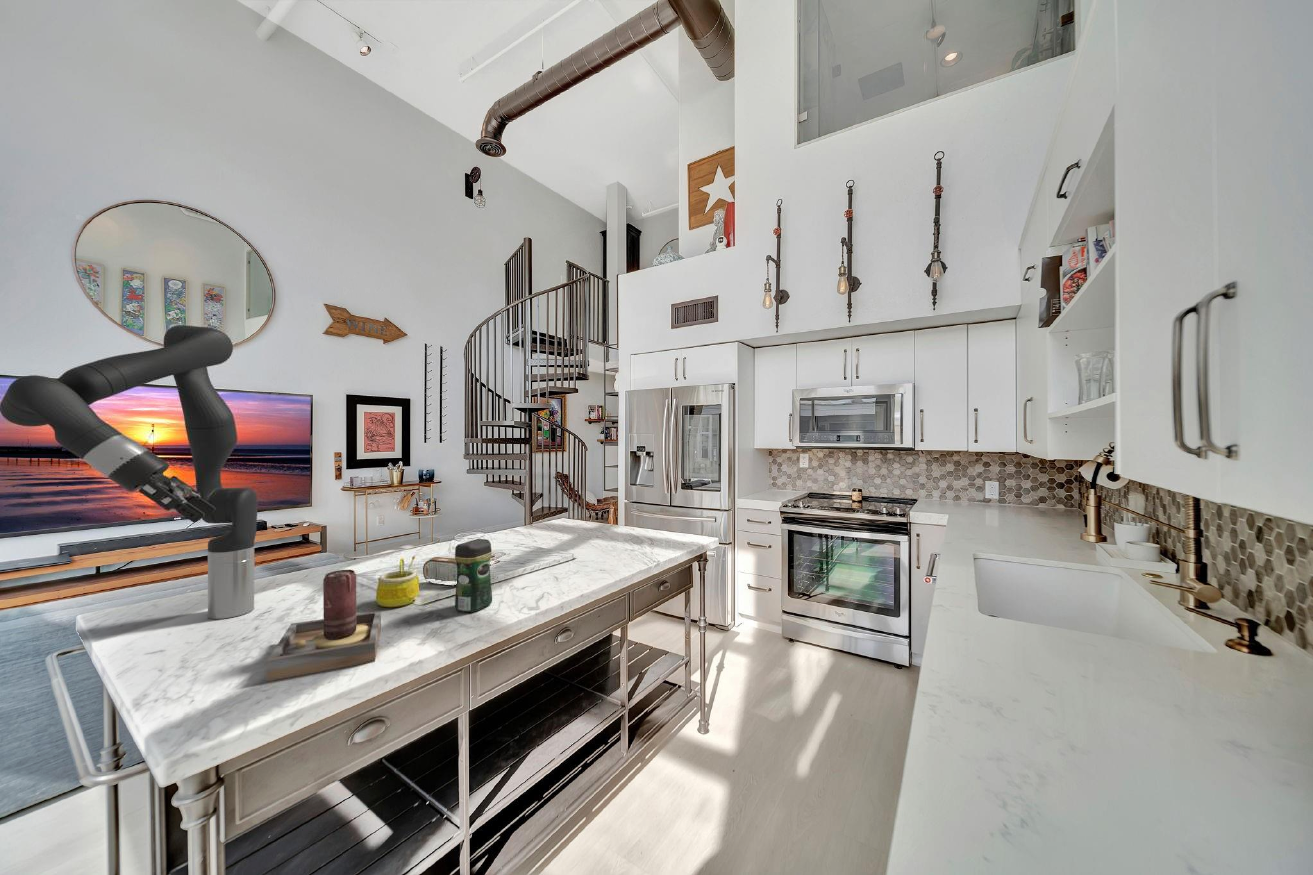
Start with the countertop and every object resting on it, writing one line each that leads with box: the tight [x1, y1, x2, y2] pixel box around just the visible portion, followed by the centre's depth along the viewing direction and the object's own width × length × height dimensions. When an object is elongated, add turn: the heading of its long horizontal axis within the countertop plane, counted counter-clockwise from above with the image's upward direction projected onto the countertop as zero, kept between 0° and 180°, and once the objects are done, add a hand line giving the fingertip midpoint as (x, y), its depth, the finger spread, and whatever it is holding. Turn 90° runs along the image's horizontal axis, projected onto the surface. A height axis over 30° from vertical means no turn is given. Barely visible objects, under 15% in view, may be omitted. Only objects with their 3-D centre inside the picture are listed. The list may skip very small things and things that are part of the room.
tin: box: [422, 556, 457, 582], centre depth 150 cm, size 15×3×8 cm, turn 77°
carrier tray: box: [266, 610, 382, 682], centre depth 104 cm, size 20×18×5 cm
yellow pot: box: [375, 555, 420, 608], centre depth 135 cm, size 13×11×12 cm
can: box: [322, 569, 357, 640], centre depth 106 cm, size 6×6×14 cm
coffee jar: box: [454, 538, 493, 613], centre depth 131 cm, size 10×8×19 cm
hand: (206, 515), depth 99 cm, fingers open, 8 cm apart
